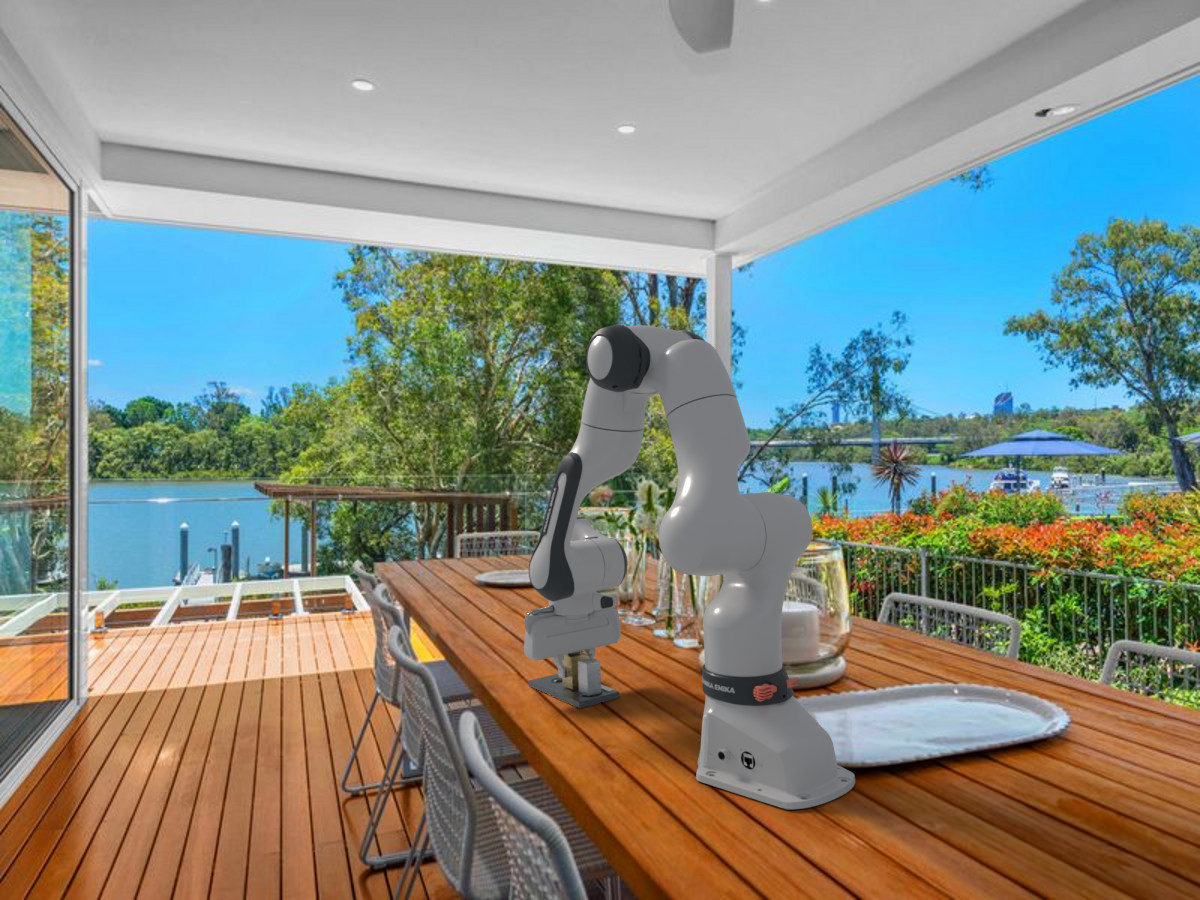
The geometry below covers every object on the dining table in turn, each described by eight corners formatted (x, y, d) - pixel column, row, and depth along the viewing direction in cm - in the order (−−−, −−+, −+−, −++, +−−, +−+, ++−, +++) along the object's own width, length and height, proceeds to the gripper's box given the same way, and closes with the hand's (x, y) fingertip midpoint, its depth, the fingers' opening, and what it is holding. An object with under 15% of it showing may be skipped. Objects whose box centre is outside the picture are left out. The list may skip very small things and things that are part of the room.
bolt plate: (619, 697, 147) (617, 659, 147) (579, 708, 142) (577, 668, 142) (566, 677, 162) (565, 642, 162) (528, 686, 156) (527, 650, 156)
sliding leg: (588, 685, 150) (586, 647, 150) (572, 689, 148) (571, 651, 148) (577, 681, 153) (576, 644, 153) (562, 685, 151) (561, 647, 151)
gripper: (533, 612, 142) (536, 689, 142) (623, 596, 154) (626, 667, 154) (516, 608, 147) (519, 682, 147) (604, 592, 159) (607, 661, 159)
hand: (574, 674), depth 151 cm, fingers closed on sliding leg, 3 cm apart
